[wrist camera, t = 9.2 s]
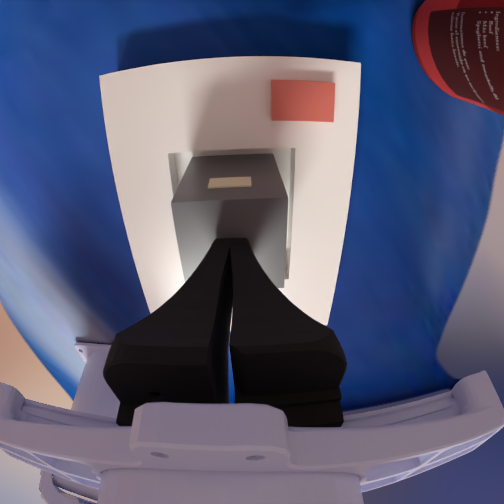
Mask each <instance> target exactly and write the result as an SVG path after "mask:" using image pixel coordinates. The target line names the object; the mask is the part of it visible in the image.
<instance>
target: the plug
mask: <svg viewBox="0 0 504 504" xmlns="http://www.w3.org/2000/svg"><path fill="white" fill-rule="evenodd" d="M171 208H172V214H173V220H174V226H175V232H176V238H177V243H178V249H179V254H180V260H181V265H182V270H183V275H184V280H185V282H186V281H187V280H188V278H189V277H190V276H191V275H192V273H193V272H194V271H195V270H196V268H197V267H198V265H199V264H200V262H201V261H202V259H203V258H204V256H205V255H206V253H207V252H208V250H209V248H210V247H211V245H212V243H213V241H214V240H215V239H221V238H247V239H248V240H249V244H250V246H251V249H252V251H253V253H254V255H255V257H256V259H257V260H258V262H259V264H260V265H261V267H262V268H263V270H264V271H265V273H266V274H267V276H268V277H269V278H270V280H271V281H272V282H273V283H274V285H275V286H276V287H277V288H284V281H285V263H286V242H287V219H288V195H287V192H286V189H285V186H284V184H283V181H282V178H281V175H280V172H279V169H278V166H277V163H276V161H275V158H274V155H273V153H270V154H236V155H216V156H200V157H192V158H191V160H190V162H189V165H188V167H187V169H186V171H185V173H184V175H183V177H182V179H181V181H180V184H179V186H178V188H177V190H176V192H175V194H174V197H173V199H172V201H171Z"/></svg>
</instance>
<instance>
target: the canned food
mask: <svg viewBox="0 0 504 504" xmlns="http://www.w3.org/2000/svg"><path fill="white" fill-rule="evenodd" d="M412 41H413V46H414V50H415V54H416V56H417V59H418V61H419V64H420V65H421V67H422V69H423V70H424V72H425V73H426V75H427V76H428V77H429V78H430V80H431V81H432V82H434V83H435V84H436V85H437V86H438V87H439V88H440V89H442V90H443V91H444V92H446V93H447V94H449V95H451V96H452V97H455V98H458V99H461V100H464V101H467V102H470V103H473V104H476V105H478V106H481V107H484V108H487V109H489V110H492V111H494V112H497V113H499V114H502V115H504V0H425V1H424V2H423V3H422V4H421V5H420V6H419V8H418V10H417V12H416V13H415V16H414V20H413V24H412Z"/></svg>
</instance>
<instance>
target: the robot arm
mask: <svg viewBox="0 0 504 504" xmlns="http://www.w3.org/2000/svg"><path fill="white" fill-rule="evenodd" d="M232 308H233V310H232ZM231 317H232V323H231ZM230 326H231V334H230ZM229 335H230V343H229ZM229 345H230V354H231V362H232V370H233V378H234V386H235V404H229V384H228V347H229ZM75 348H76V349H77V351H78V353H79V354H80V356H81V357H82V359H83V360H84V362H85V363H86V365H85V368H84V370H83V373H82V376H81V379H80V382H79V386H78V389H77V392H76V395H75V398H74V401H73V405H72V408H71V410H68V409H64V408H60V407H55V406H51V405H47V404H43V403H39V402H36V401H32V400H28V399H25V398H24V396H23V395H22V394H21V393H20V392H19V391H18V390H17V389H16V388H14V387H12V386H10V385H7V384H4V383H1V382H0V449H1V450H3V451H4V452H6V453H7V454H9V455H10V456H12V457H14V458H16V459H18V460H21V461H23V462H25V463H27V464H30V465H32V466H34V467H37V468H39V469H41V473H40V474H41V479H40V484H39V490H40V492H41V497H42V498H43V500H44V501H45V502H46V503H47V504H363V498H362V492H365V491H369V490H372V489H376V488H379V487H382V486H385V485H389V484H392V483H395V482H398V481H400V480H403V479H406V478H409V477H412V476H414V475H417V474H419V473H422V472H424V471H427V470H429V469H432V468H434V467H437V466H439V465H441V464H444V463H446V462H448V461H450V460H453V459H455V458H457V457H460V456H462V455H464V454H466V453H468V452H470V451H472V450H474V449H476V448H477V447H478V446H480V445H481V444H482V443H484V442H485V441H486V440H488V439H489V438H490V437H491V436H493V435H494V434H495V433H496V432H498V431H499V430H500V429H501V428H502V427H504V409H503V407H502V404H501V402H500V400H499V397H498V395H497V393H496V391H495V389H494V387H493V385H492V383H491V381H490V379H489V377H488V375H487V373H486V371H481V372H479V373H476V374H473V375H470V376H467V377H465V378H463V379H461V380H460V381H459V382H458V383H457V384H456V385H455V386H454V388H453V389H452V391H449V392H446V393H443V394H440V395H437V396H433V397H429V398H426V399H422V400H418V401H415V402H411V403H407V404H403V405H399V406H394V407H390V408H385V409H381V410H375V411H370V412H366V413H360V414H354V415H348V416H343V413H342V408H341V404H340V400H341V392H340V387H339V386H340V384H341V381H342V379H343V376H344V374H345V371H346V366H347V362H346V358H345V354H344V352H343V349H342V347H341V345H340V343H339V341H338V339H337V337H336V335H335V333H334V331H333V330H332V329H330V328H328V327H326V326H325V325H323V324H321V323H319V322H318V321H316V320H314V319H313V318H311V317H310V316H308V315H307V314H306V313H304V312H303V311H302V310H300V309H299V308H298V307H297V306H296V305H294V304H293V303H292V302H291V301H290V300H289V299H288V298H287V297H286V296H285V295H284V294H283V293H282V292H281V291H280V290H279V289H278V288H277V287H276V286H275V285H274V283H273V282H272V281H271V280H270V278H269V277H268V276H267V274H266V273H265V271H264V270H263V268H262V267H261V265H260V264H259V262H258V260H257V259H256V257H255V255H254V253H253V251H252V249H251V246H250V244H249V240H248V239H247V238H221V239H215V240H214V241H213V243H212V245H211V247H210V248H209V250H208V252H207V253H206V255H205V256H204V258H203V259H202V261H201V262H200V264H199V265H198V267H197V268H196V270H195V271H194V272H193V273H192V275H191V276H190V277H189V278H188V280H187V281H186V282H185V283H184V284H183V285H182V287H181V288H180V289H179V290H178V291H177V292H176V293H175V294H174V295H173V296H172V297H171V298H170V299H168V300H167V301H166V302H165V303H164V304H163V305H161V306H160V307H159V308H158V309H157V310H155V311H154V312H153V313H151V314H150V315H148V316H147V317H145V318H144V319H142V320H141V321H139V322H138V323H136V324H134V325H133V326H131V327H129V328H127V329H125V330H124V331H122V332H120V333H118V334H116V336H115V339H114V341H113V343H112V345H105V344H92V343H81V342H76V344H75ZM53 475H54V476H53ZM52 476H53V477H52ZM58 487H60V488H62V489H65V490H68V491H70V492H73V493H76V494H79V495H82V496H84V497H88V498H90V499H93V500H97V501H98V502H97V503H94V502H90V501H87V500H84V499H81V498H79V497H76V496H73V495H70V494H67V493H65V492H63V491H62V490H60V489H59V488H58Z"/></svg>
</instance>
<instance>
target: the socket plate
mask: <svg viewBox="0 0 504 504" xmlns="http://www.w3.org/2000/svg"><path fill="white" fill-rule="evenodd" d="M360 76H361V63H356V62H349V61H340V60H331V59H320V58H305V57H283V56H243V57H221V58H207V59H195V60H186V61H177V62H170V63H162V64H156V65H150V66H144V67H138V68H133V69H128V70H123V71H118V72H113V73H109V74H105V75H101V76H99V78H100V88H101V97H102V105H103V113H104V120H105V127H106V134H107V140H108V146H109V152H110V158H111V163H112V169H113V174H114V179H115V184H116V189H117V193H118V198H119V202H120V207H121V211H122V215H123V220H124V224H125V228H126V232H127V236H128V240H129V243H130V247H131V251H132V255H133V258H134V262H135V265H136V269H137V272H138V276H139V279H140V282H141V285H142V289H143V292H144V295H145V298H146V301H147V305H148V308H149V311H150V314H151V313H153V312H154V311H155V310H157V309H158V308H159V307H160V306H161V305H163V304H164V303H165V302H166V301H167V300H168V299H170V298H171V297H172V296H173V295H174V294H175V293H176V292H177V291H178V290H179V289H180V288H181V287H182V285H183V284H184V283H185V280H184V275H183V270H182V265H181V260H180V254H179V249H178V243H177V238H176V232H175V226H174V220H173V214H172V208H171V201H172V199H173V197H174V194H175V192H176V190H177V188H178V186H179V184H180V181H181V179H182V177H183V175H184V173H185V171H186V169H187V167H188V165H189V162H190V160H191V158H192V157H200V156H216V155H236V154H270V153H273V155H274V158H275V161H276V163H277V166H278V169H279V172H280V175H281V178H282V181H283V184H284V186H285V189H286V192H287V195H288V219H287V242H286V263H285V281H284V288H278V289H279V290H280V291H281V292H282V293H283V294H284V295H285V296H286V297H287V298H288V299H289V300H290V301H291V302H292V303H293V304H294V305H296V306H297V307H298V308H299V309H300V310H302V311H303V312H304V313H306V314H307V315H308V316H310V317H311V318H313V319H314V320H316V321H318V322H319V323H321V324H323V325H327V324H328V319H329V315H330V310H331V305H332V300H333V295H334V290H335V285H336V280H337V275H338V270H339V264H340V258H341V253H342V247H343V241H344V234H345V228H346V222H347V215H348V208H349V200H350V193H351V185H352V177H353V168H354V159H355V149H356V138H357V126H358V113H359V97H360ZM232 310H233V308H232ZM231 323H232V317H231ZM230 330H231V326H230Z"/></svg>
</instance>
